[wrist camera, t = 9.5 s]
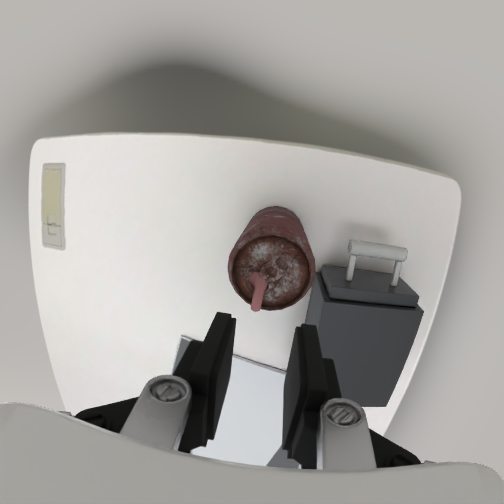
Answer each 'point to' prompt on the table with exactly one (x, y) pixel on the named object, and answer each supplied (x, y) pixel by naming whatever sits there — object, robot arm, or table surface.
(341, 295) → the drawer
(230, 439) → the white grey flat panel
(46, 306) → the table surface
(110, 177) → the table surface
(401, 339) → the dark grey cabinet
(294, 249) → the can
